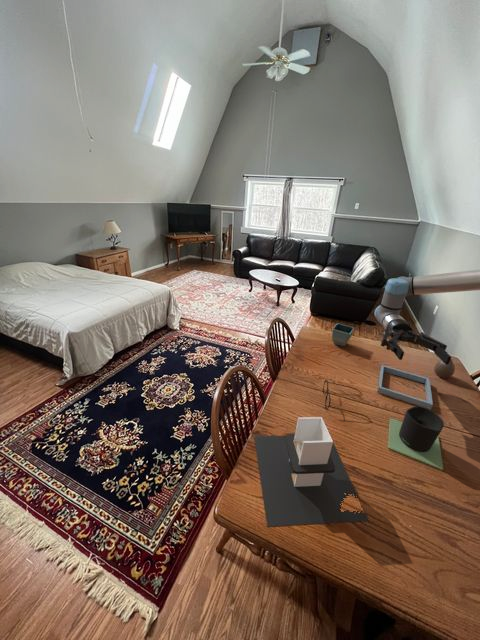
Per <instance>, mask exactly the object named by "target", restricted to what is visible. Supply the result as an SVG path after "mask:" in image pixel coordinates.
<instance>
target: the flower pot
mask: <svg viewBox="0 0 480 640" xmlns="http://www.w3.org/2000/svg"><path fill="white" fill-rule="evenodd" d="M354 330H355V327H353V326H349V325H346V324H342V323H336V324H335V325H334V326H333V328H332V329H331V339H332V343H333V344H334V345H337V346H339V347H346V345H347V344H348V342H349V341H350V340H351V338H352V336H353V333H354Z"/></svg>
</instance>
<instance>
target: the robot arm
mask: <svg viewBox="0 0 480 640" xmlns="http://www.w3.org/2000/svg"><path fill="white" fill-rule="evenodd" d="M475 291H480V269H474V270H473V269H472V270H465V271H464V270H463V271H454V272H445V273H436V274H435V273H434V274H427V275H418V276H409V277H407V276H399V277H393V278H389V279H388V280H387V282H386V285H385V287H384V292H383V296H382V299H381V303H380V304H379V305H378V306H377V307H376V308H375V309H374V317H375V319H376V321H377V322H378V323H379V324H380V325H381V326H382V328H383V332H382V339H381V342H380V346H381V347H385V349H386V350H387V351H391V352H392V353H394V355H395V356H396V358H397V359H398V360H400V361H402V360H403V357H404V355H405V351H404V350H403V349H402V347H401V346H400V345H399V342H403V343H411V344H412V345H415V346H417V345H418V346H421V347H423V348H425V349H428V350H430V351H432V352H434V354H435V355H436V357H438V358H439V359H440V360H442V361H443V362H444V363H445V364H449V362H450V359H452V356H451V354H449V353H448V352H447V351H446V350H447V348H448V345H446V344H445V343H443V342H441V341H439V340H437V339H435V338H433V337H431V336H429V335H427V334H426V333H424V332H422V331H420V333H419V334H418V333H417V332H414V331H413V327H412V325H410V323H409V322H407V321H406V320H405V319H404V317H402V316H401V315H400V314H401V311H402V308H403V305H404V302H405V299H406V297H407V296H415V295H417V296H418V295H429V294H443V293H445V294H446V293H458V292H459V293H460V292H475ZM389 337H390V338H389ZM388 338H389V340H388Z"/></svg>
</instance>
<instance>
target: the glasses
mask: <svg viewBox="0 0 480 640" xmlns="http://www.w3.org/2000/svg"><path fill="white" fill-rule="evenodd" d="M325 384H326V391H325ZM329 384H333V385H336V386H340V387H345V388H349V389H352V390H356V391H357V392H359V394H363V393H362V392H361V391H360V390H359V389H357V388H355V387H351V386H348V385H345V384H340V383H335V382H330V381H328V379H325V380H324V381H323V387H322V393H323V395H326V396H325V401H324V408H325V411H326V410H329V408H332V409H336V410H340V411H343V412H348V413H353V414H356V415H358V416H359V415H360V416H363V417H365V418H367V419H368V420H369V421H371V418H369V417H368V416H367V415H365V414H362V413H359V412H356V411H351V410H348V409H344V408H339V407H335V406H332V405H331V404H332V403H331V402H332V401H331V400H332V398H331V394H330V389H329ZM328 398H329V401H328V402H329V403H328V406H327V400H328Z"/></svg>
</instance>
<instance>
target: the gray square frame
mask: <svg viewBox="0 0 480 640" xmlns="http://www.w3.org/2000/svg"><path fill="white" fill-rule="evenodd" d="M384 373H386V374H390V375H394V376H397V377H402V378H404V379H407V380H411V381H413V382H418V383H421V384H424V391H425V399H426V400H425V399H421V398H418V397H415V396H411V395H408V394H405V393H402V392H399V391H396V390H392V389H389V388H387V387H383V378H384ZM378 374H379V375H378V383H377V390H376V393H378V394H381V395H384V396H387V397H390V398H393V399H397V400H399V401H403V402H405V403H409V404H411V405H413V406H420V407H424V408H427V409H429V410H431V411H432V408H433V406H434V403H433V402H434V401H433V394H432V388H431V380H430V378H429V377H426V376H422V375H418V374H415V373H411V372H408V371H405V370H401V369H397V368H394V367H391V366H387V365H384V364H381V365H380V368H379V373H378Z"/></svg>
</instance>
